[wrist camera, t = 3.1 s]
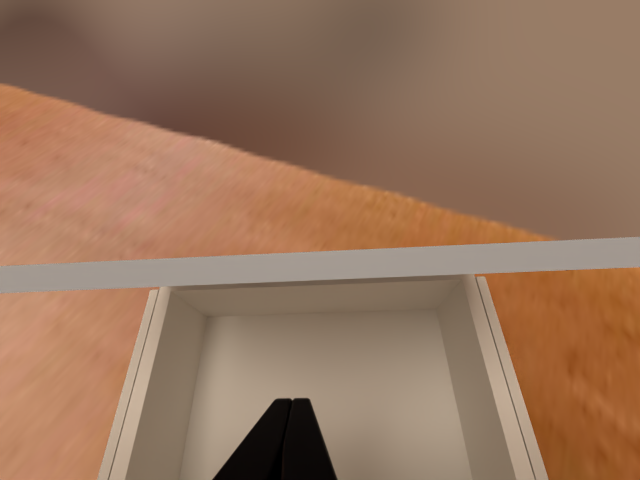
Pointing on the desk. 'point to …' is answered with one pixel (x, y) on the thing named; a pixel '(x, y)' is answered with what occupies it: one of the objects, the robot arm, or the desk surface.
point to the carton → (326, 379)
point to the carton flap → (325, 265)
